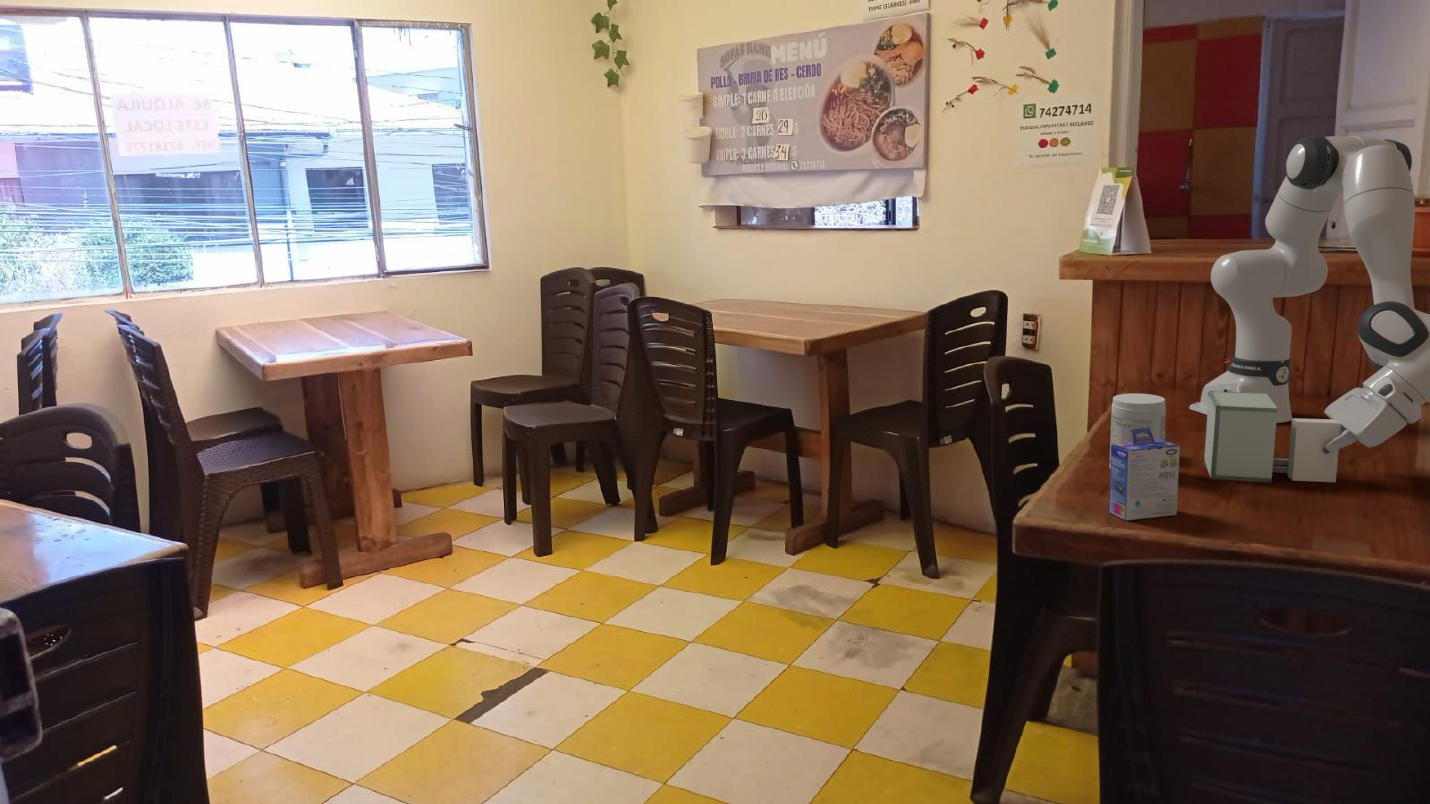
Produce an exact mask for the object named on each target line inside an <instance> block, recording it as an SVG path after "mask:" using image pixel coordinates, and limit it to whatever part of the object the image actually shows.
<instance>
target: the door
mask: <svg viewBox="0 0 1430 804" xmlns="http://www.w3.org/2000/svg"><path fill="white" fill-rule="evenodd" d="M1340 427H1341V423H1340V422H1338V421H1336V420H1333V419H1330V418H1329V419H1328V418H1327V419H1325V418H1324V419H1323V418H1322V419H1321V418H1293V417H1292V420H1291V428H1290V439H1289V452H1288V459H1289V463H1288V465H1287V467H1288V473H1287V478H1289V479H1290V480H1291V481H1294V482H1295V481H1296V482H1297V481H1298V482H1318V483H1320V482H1321V483H1337V470H1338V460H1339V450H1338V451H1336V452H1335V453H1330V452H1329V451H1328V450H1327V449H1326V448H1325V447H1324V444H1325V443H1327V442H1328V441H1329V440H1331V439H1332V440H1333V439H1335V438H1337V437H1338V436H1340V435H1341V432H1340Z"/></svg>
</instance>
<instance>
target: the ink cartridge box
mask: <svg viewBox="0 0 1430 804" xmlns="http://www.w3.org/2000/svg"><path fill="white" fill-rule="evenodd" d="M1131 433H1132V439H1133V441H1134V442H1129V443H1121V444H1112V445H1111V469H1110V478H1109V479H1110V482H1109V487H1110V488H1109V513H1110V514H1112V515H1114V516H1116V517H1118V518H1119V519H1122V520H1123V521H1135V520H1142V519H1152V518H1162V517H1170V516H1171V517H1172V516H1176V515H1177V512H1178V492H1179V490H1178V489H1179V471H1180V470H1179V469H1180V452H1181V451H1180V450H1181V446H1180V445H1179V444H1177V443H1174V442H1171V441H1168V440H1166V439H1165V440H1163V439H1156V440H1154V439H1153V435H1152V432H1151V430H1150V428H1144V429H1131ZM1139 433H1147V434H1148V435H1149V437H1141V438H1137V437H1136V434H1139Z"/></svg>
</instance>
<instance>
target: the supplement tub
mask: <svg viewBox="0 0 1430 804" xmlns="http://www.w3.org/2000/svg"><path fill="white" fill-rule="evenodd" d="M1166 410H1167V408H1166V399H1165V398H1164V397H1163V396H1160V395H1155V394H1150V393H1149V394H1148V393H1131V392H1130V393H1122V394H1117V395H1115V396H1113V397H1112V403H1111V415H1110V417H1111V420H1110V442H1109V443H1110V444H1109V446H1110V447H1109V469H1110V470H1111V445H1112V444H1121V443H1129V442H1134V441H1133V439H1132V433H1131V429H1144V428H1150V430H1151V432H1152V435H1153V439H1154V440H1156V439H1163V440H1164V432H1166V413H1167V412H1166ZM1136 437H1137V438H1141V437H1149V435H1148V434H1147V433H1139V434H1136Z"/></svg>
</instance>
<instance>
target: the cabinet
mask: <svg viewBox="0 0 1430 804" xmlns="http://www.w3.org/2000/svg"><path fill="white" fill-rule="evenodd" d="M1277 410H1278V408H1277V407H1276V405H1275V404H1274V403H1273V401H1272V400H1271V399H1270V397H1269V396H1268V395H1267V393H1243V392H1215V391H1209V398H1208V412H1207V416H1206V429H1205V442H1204V443H1205V445H1204V455H1203V456H1204V458H1203V459H1204V460H1203V461H1204V464H1205V467H1206V469H1207V472H1208V474H1209V475H1208V476H1209V477H1210V480H1223V481H1235V482H1236V481H1239V482H1255V483H1267V484H1269V483H1270V484H1271V483H1272V480H1273V479H1272V478H1273V473H1279V474H1280V473H1281V474H1288V463H1289V458H1277V457H1275V456H1274V455H1275V444H1276V431H1277V423H1276V422H1277Z"/></svg>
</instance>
